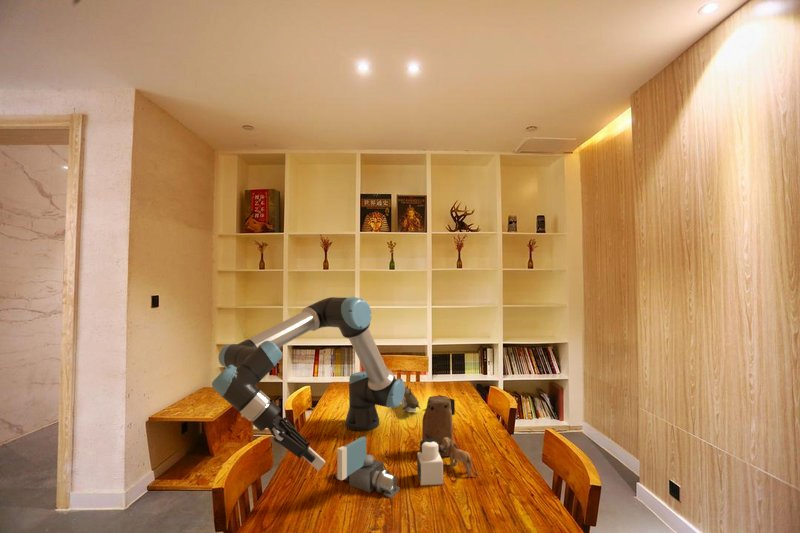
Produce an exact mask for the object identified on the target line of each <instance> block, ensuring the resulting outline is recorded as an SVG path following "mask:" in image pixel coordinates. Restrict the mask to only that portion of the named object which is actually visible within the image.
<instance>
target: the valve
mask: <svg viewBox="0 0 800 533" xmlns="http://www.w3.org/2000/svg"><path fill="white" fill-rule="evenodd" d="M335 477H336V478H335ZM334 478H335V479H337V473H336V474H335V476H334ZM344 481H346V482H349V484H348V485H349V486H350V487H353V488H355V489H359V490H362V491H364V492H367V493H369V494H370V493H371V492H372V491H374V490H376V492H377V493H379V494H383V497H387V498H389V499H391V498H393V496H394V495H396V494H398V492H399V491H400V490H401V487H400V486H397V485H398V477H397V476H396V475H394V474H391V471H390V470H388V469H386V468H384V462H383V461H380V460H377V459H375V458H373V464H372V465H370V466H363V467H361V468H359V469H358V470H356V471H355V472H353V473H352V474H350V475H349V476H347V478H345V479H344Z"/></svg>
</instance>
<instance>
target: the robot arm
mask: <svg viewBox="0 0 800 533" xmlns="http://www.w3.org/2000/svg"><path fill="white" fill-rule="evenodd" d="M371 321H372V309H371V307H370V304H369V303H368V302H367V301H366V300H365V299H363V298H361V297H355V296H350V297H340V296H338V297H337V296H336V297H335V296H333V297H327V298H324V299H320V300H318V301H317V302H315V303H312V304H310V305H307V306H306V307H303V309H302V310H301V312H299V313H298V314H296V315H293V316H292V317H290V318H288V319H286V320H284V321H282V322H279V323H277V324H276V325H273V326H272V327H270V328H268V329H266V330H264V331H262V332H260V333H257V334H255V335H254V336H251V337H250V338H248V339H245V340H243V341H241V342H239V343H237V344H236V343H230V344H227V345H224V346H223V347H221V349H220V350H219V353H218V362H219V364H220V365H221V366H222V367H224V368H225V369H223V371H221V373H219V374H218V376H216V377H215V379H213V381H212V382H211V386H212V388H213V389H214V390H215V392H217V393H218V394H219V396H220V397H221V398H222V399H224V400H225V401H226V402H227V403H228V404H230V405H231V406H232V407H233V408H234V409H236V411H238V412H239V413H240V416H241V417H242V418H245V419H246V420H248V421H249V422H251V421H252V425H253V426H254V427H255V428H256V429H257V430H258V431H260V432H263V431H265V429H268V431H269V432H270V434H271V435H272V436H273V441H274V442H275V443H278V444H279V445H281V446H282V447H283V448H285V449H286V450H287V451H289V452H290V453H292V454H293V455H295V456H296V457H297V458H298V459H299V460H300V459H301V458H303V459H305V461H306V462H308V463H309V464H310V465H311V466H312V467H313V468H314V469H315V470H317V472H319V471H320V470H321V469H322V468H323V467H324V465H325V464H326V460H325V459H324V458H322V456H321V455H319V454H318V453H317V452H316V451H315V450H314V449H313V448H312V447H310V445H311V442H310V441H308V440H307V439H306V438H305V437H304V436H303V435H302V434H301V433H300V432H299V430H298V429H296V427H295V426H294V425H293V424H292V423H291V422H290V421H289V420H288V418H287V417H285V416H284V417H281V416H280V412H281V411H282V410H281V408H280V406H279V405H277V404H276V403H275V402H274V401H270V400H271V398H270V397H269V396H267V394H266V393H264V392H263V391H262V390H261V389H260V388H259V387H258V386H257V385H258V384H259V383H260V382H261V381H262V380H263V379H264V378H265V377H266V376H267V375H268V373H270V372H271V371H272V370H273V369H274V368H275V367H276V365H277V364H278V363H279V361H280V360H282V358H283V352H282V350H281V349H280V348H281V347H282V346H284V345H286V344H288V343H290V342H292V341H294V340H296V339H297V338H300V337H302V336H303V335H304V334H307V333H308V332H310V331H312V332H314V331H317V330H319V329H322V328H328V327H329V328H330V327H331V328H338V329H339V330H340V331H339V332H340V333H341V335H342V336H343V338H345V339H348V340H349V342H350V344H351V346H352V348H353V350H354V352H355V353H356V356H357V357H358V360H359V362H360V364H361V366H362V368H363V371H358V372H354V373H351V374H350V376H349V382H348V397H349V401H348V402H349V407H348V411H347V414H346V417H345V422H344V423H345V428H346V427H347V429H348V428H349V429H348V430H350V429H351V431H354V430H356V431H358V432H364V431H365V430H366V431H370V430H374V429H376V428H378V427H379V426H380V417H379V414H378V411H377V407H376V406H381V407H384V408H388V409H389V408H391V409H395V408H396V409H397V408H398V407H400V405H402V400H403V397H404V393H405V386H406V385H405V383H404V380H403V379H402V380H403V381H402V380H400V378H398V379H397V378H396V376H395V375H394V373H393V371H392V370H391V369H388V367H387V365H386V364H385V361H384V359H383V357H382V354H381V352H380V351H379V347H378V346H377V344H376V342H375V339H374V338H373V335H372V334H371V331H370V329H369V328H370V326H371Z"/></svg>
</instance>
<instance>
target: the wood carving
mask: <svg viewBox="0 0 800 533" xmlns="http://www.w3.org/2000/svg"><path fill="white" fill-rule="evenodd" d="M399 379H400V380H402V381H403V382H404V380H403V378H402V377H400V378H399ZM417 408H418V409H421V407H420V405H419V401H418V398H417V397H416V395H414V393H413V392H412V388H410V387H409V385H405V393H404V397H403V400H402V402H401V409H402V411H403V410H404V411H407V412H416V411H417ZM404 411H403V412H404Z"/></svg>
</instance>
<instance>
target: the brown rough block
mask: <svg viewBox="0 0 800 533" xmlns="http://www.w3.org/2000/svg"><path fill="white" fill-rule="evenodd" d="M449 398H450V397H449V396H447V395H441V397H440V396H438V395H433V396H429V397H428V399H427V402H426V408H425V412H424V414H423V416H422V421H421V422H422V423H421V425H422V428H421V429H422V430H421V432H422V433H421V435H422V440H424V439H427V438H431V439H435V440H437V441H438V442H439V454H440V456H441V458H442V457H448V456H447V453H445V452H444V450H443V451H442V450H441V448H440V445H441V444H442V442H443V438H445V437H448V438H450V439H452V440H453V441H454V432H453V430H454V429H453V415H452V411H451V402H450V399H451V398H450V399H449Z"/></svg>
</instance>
